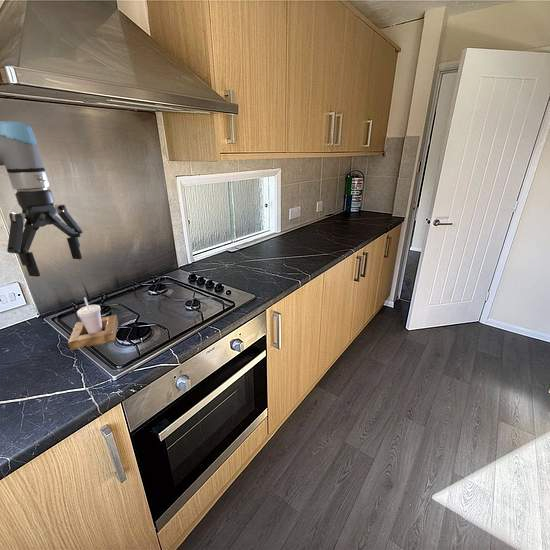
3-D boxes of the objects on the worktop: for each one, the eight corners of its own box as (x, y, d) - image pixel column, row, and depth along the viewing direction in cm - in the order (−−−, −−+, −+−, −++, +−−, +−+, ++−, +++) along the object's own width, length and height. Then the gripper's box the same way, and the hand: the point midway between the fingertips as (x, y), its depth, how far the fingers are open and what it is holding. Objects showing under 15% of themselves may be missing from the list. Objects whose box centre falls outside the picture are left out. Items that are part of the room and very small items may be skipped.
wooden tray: (70, 350, 88) (67, 342, 87) (79, 330, 98) (76, 322, 97) (114, 340, 92) (112, 332, 91) (118, 322, 102) (116, 314, 101)
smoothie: (87, 343, 91) (73, 304, 85) (84, 334, 96) (71, 296, 90) (109, 335, 95) (98, 297, 89) (105, 327, 99) (94, 290, 94)
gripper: (-10, 196, 63) (25, 285, 71) (84, 184, 85) (101, 253, 94) (-36, 196, 65) (1, 283, 73) (63, 184, 87) (82, 252, 95)
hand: (57, 266), depth 83 cm, fingers open, 13 cm apart
